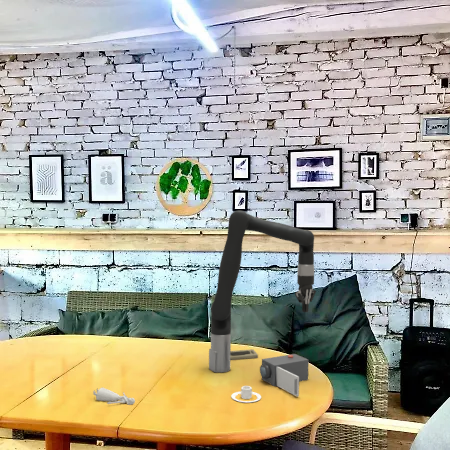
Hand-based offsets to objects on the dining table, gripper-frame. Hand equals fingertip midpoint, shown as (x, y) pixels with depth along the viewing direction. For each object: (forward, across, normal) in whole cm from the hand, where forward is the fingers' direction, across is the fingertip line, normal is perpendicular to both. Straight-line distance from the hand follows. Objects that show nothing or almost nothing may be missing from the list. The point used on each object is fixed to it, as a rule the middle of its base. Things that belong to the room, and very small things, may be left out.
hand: (305, 311), depth 230 cm
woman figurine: (+29, +81, -30) cm, 91 cm away
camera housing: (+29, +14, -1) cm, 32 cm away
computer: (+29, +4, -38) cm, 48 cm away
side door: (+28, +23, +9) cm, 38 cm away
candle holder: (+29, +40, +2) cm, 50 cm away
